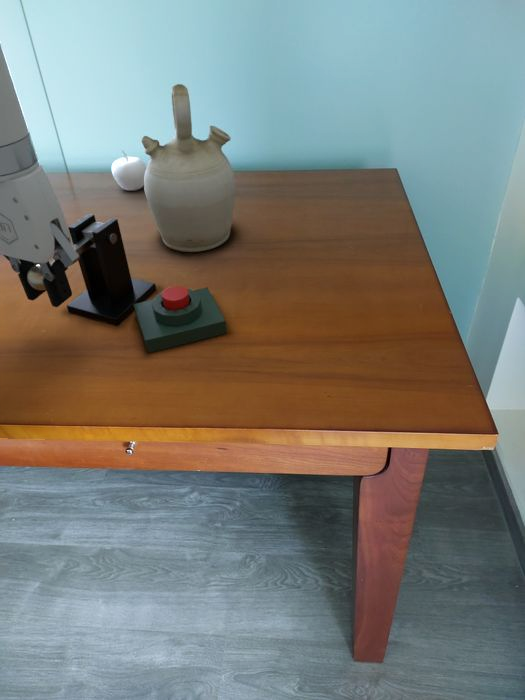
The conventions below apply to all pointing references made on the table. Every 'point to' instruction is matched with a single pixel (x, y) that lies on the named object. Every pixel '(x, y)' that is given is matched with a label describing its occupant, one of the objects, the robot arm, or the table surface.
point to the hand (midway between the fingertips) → (50, 296)
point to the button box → (179, 321)
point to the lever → (36, 273)
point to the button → (175, 298)
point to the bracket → (106, 275)
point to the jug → (189, 183)
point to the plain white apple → (129, 172)
